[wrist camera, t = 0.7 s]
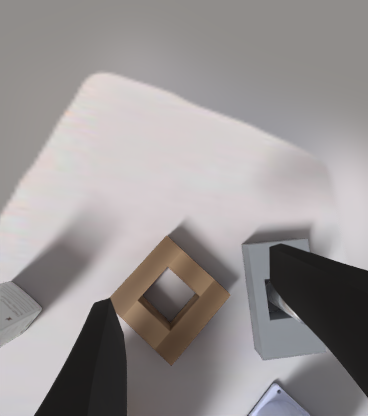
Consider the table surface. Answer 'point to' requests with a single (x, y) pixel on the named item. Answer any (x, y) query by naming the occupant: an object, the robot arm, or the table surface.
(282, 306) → the metal axle
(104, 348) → the robot arm
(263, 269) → the bored beam
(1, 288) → the skincare box
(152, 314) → the walnut seat block
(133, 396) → the table surface
